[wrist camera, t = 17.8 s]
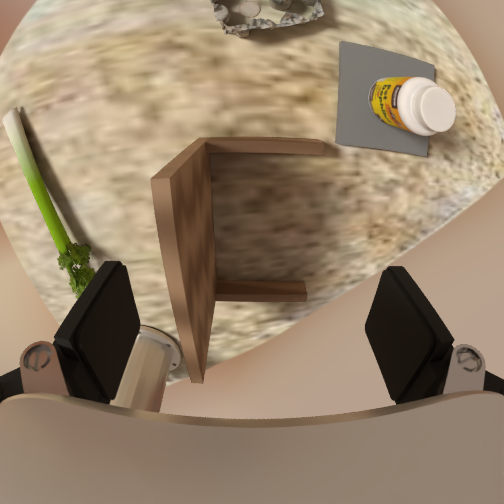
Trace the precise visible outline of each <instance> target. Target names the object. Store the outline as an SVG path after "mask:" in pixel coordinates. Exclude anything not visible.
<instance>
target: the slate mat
mask: <svg viewBox="0 0 504 504" xmlns="http://www.w3.org/2000/svg"><path fill="white" fill-rule="evenodd" d="M387 77H423V78H427V79H430V80H432V81H433V82H434V65H432V64H430V63H427V62H424V61H421V60H418V59H415V58H411V57H408V56H405V55H401V54H398V53H394V52H390V51H387V50H383V49H378V48H374V47H370V46H365V45H360V44H355V43H350V42H344V41H341V42H340V43H339V89H338V110H337V126H336V140H335V143H337V144H341V145H351V146H360V147H368V148H376V149H383V150H390V151H396V152H403V153H409V154H414V155H420V156H425V157H427V151H428V144H429V136H422V135H418V134H415V133H413V132H410V131H407V130H404V129H401V128H398V127H395V126H392V125H389V124H386V123H384V122H382V121H380V120H379V119H378V118H377V117H376V116H375V115H374V114H373V112H372V110H371V108H370V105H369V99H368V97H369V91H370V89H371V87H372V85H373V84H374V83H375V82H376V81H377V80H379V79H382V78H387Z"/></svg>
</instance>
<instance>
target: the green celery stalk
mask: <svg viewBox="0 0 504 504" xmlns="http://www.w3.org/2000/svg"><path fill="white" fill-rule="evenodd" d="M3 123H4V126H5V129H6V131H7V134H8V136H9V138H10V141H11V143H12V145H13V148H14V150H15V153H16V155H17V158H18V160H19V163H20V165H21V167H22V170H23V172H24V174H25V177H26V179H27V181H28V184H29V186H30V188H31V191H32V193H33V195H34V197H35V200H36V202H37V204H38V206H39V208H40V210H41V213H42V215H43V217H44V219H45V222H46V224H47V226H48V229H49V231H50V233H51V236H52V238H53V240H54V242H55V244H56V246H57V248H58V251H59V253H60V256H59V258H57V260H58V261H59V265H60V266H61V264H62V263H63V264H62V266H63V267H62V266H61V267H62V268H61V267H60V268H59V269H63V268H65V267H66V268H67V270H68V272H69V275H70V277H71V279H70V281H71V282H70V283H69V285H70V286H71V287H72V290H73V293H74V292H76V291H77V292H76V294H77V293H78V294H77V295H79V296H76V298H77V299H78V297H80V295H81V294H82V292H83V291H84V290H85V286H86V287H87V285H88V284H89V282H90V281H91V280H92V278H93V277H94V275H95V272H94V268H92V269H90V268H89V269H87V268H88V267H89V266H88V265H87V262H88V263H89V261H88V260H89V259H90V257H89V255H90V254H89V251H90V252H91V250H90V249H91V247H90V245H88V244H87V245H86V244H85V245H86V246H87V247H86V246H83V245H82V247H81V246H80V247H79V245H77V243H75V244H76V245H75V244H72V243H71V241H70V239H69V237H68V235H67V233H66V231H65V229H64V227H63V225H62V223H61V221H60V219H59V217H58V215H57V212H56V210H55V208H54V206H53V204H52V201H51V199H50V197H49V194H48V192H47V189H46V187H45V185H44V182H43V180H42V177H41V174H40V172H39V169H38V167H37V164H36V162H35V159H34V157H33V154H32V151H31V149H30V146H29V143H28V140H27V137H26V134H25V131H24V128H23V125H22V122H21V119H20V115H19V112H18V109H17V107H16V108H14V109H12V110H11V111H10V112H9V113H8V114H7V115H6V116H5V117H4V119H3ZM68 249H69V250H68ZM69 251H70V252H71V253H70V252H69ZM84 251H85V252H84ZM70 254H71V255H70ZM72 259H73V260H72ZM62 260H63V261H62ZM73 261H74V262H75V264H76V265H77V264H78V263H79V265H81V266H80V269H78V267H77V266H76V265H75V264H74V262H73ZM73 265H75V267H77V268H75V267H73ZM87 266H88V267H87ZM72 267H73V268H72ZM73 270H74V271H77V272H74V271H73ZM70 273H71V274H72V275H71V274H70ZM85 273H86V274H85ZM89 276H90V277H89ZM76 289H77V290H76ZM83 289H84V290H83Z"/></svg>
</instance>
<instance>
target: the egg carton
mask: <svg viewBox="0 0 504 504" xmlns="http://www.w3.org/2000/svg"><path fill="white" fill-rule="evenodd" d="M216 1H218V0H211V3H212V5H213V6H214V14H215V17H216V20H217V21H218V20H219V21H220V23H221V25H222V29H223V30H224V33H225V35H226V34H227V33H232V34H235V35H237V36H238V37H239V38H243V37H247V36H250V35H249V31H250V29H255V28H257V29H265V28H269V29H270V30H273V29H276V28H279V27H285V26H290V25H294V24H298V23H300V24H306V23H309V21H310V20H317V19H318V18H319V17H321V16H325V13H324V11H323V9H322V7H321V4H320V0H301V2H303V3H304V4H306V5H313V6H314V9H315V10H314V12H313V13H312V14H311V16H310V18H309V19H304V18H303V17H301V16H300V15H299V14H295V13H290V12H287V13H285V15H284V16H283V17H282V18H281V21H280V24H275V23H274V22H272V21H271V20H269V19H267V20H264V19H261V18H260V19H257V20H256V19H253V20H251V21H250V22H249V24H241V25H236V26H227V25H226V24H227V23H228V22H229V20H230V14H229V11H228V9H227V7H225V6H224V5H221V4H214V3H215V2H216ZM292 1H293V0H269V4H270V5H271V7H272V8H274V9H276V10H286V9H288V8H289V7H290V5H291V3H292ZM260 10H261V9H260V6H259V4H257V3H256V2H254V1H245V2H243V3H242V4H241V5H240V7H239V12H240V14H241V15H243V16H244V17H248V18H251V17H254V16H257V15H258V14H259V13H260Z"/></svg>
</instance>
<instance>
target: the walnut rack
mask: <svg viewBox="0 0 504 504" xmlns="http://www.w3.org/2000/svg"><path fill="white" fill-rule="evenodd" d="M210 153H291V154H311V155H324V143H322V142H321V141H320V140H317V139H302V138H281V137H210V138H198V139H197V140H196V141H194V142H193V143H192V144H191V145H189V146H188V147H187V148H186V149H185V150H183V151H182V152H181V153H180V154H179V155H177V156H176V157H175V158H174V159H173V160H172V161H170V162H169V163H168V164H167V165H166V166H165V167H164V168H162V169H161V170H160V171H159V172H158V173H157V174H156V175H155V176H153V177H152V178H151V187H152V195H153V203H154V210H155V217H156V224H157V230H158V236H159V242H160V248H161V254H162V260H163V265H164V270H165V275H166V280H167V285H168V290H169V295H170V300H171V304H172V309H173V313H174V318H175V322H176V326H177V330H178V334H179V338H180V342H181V346H182V350H183V354H184V358H185V361H186V365H187V369H188V372H189V376H190V379H191V382H192V383H202V384H203V380H204V374H205V367H206V360H207V353H208V346H209V340H210V333H211V327H212V320H213V314H214V308H215V301H236V302H306V299H307V291H306V287H305V283H304V281H230V280H217V270H216V257H215V242H214V226H213V209H212V190H211V168H210Z"/></svg>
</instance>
